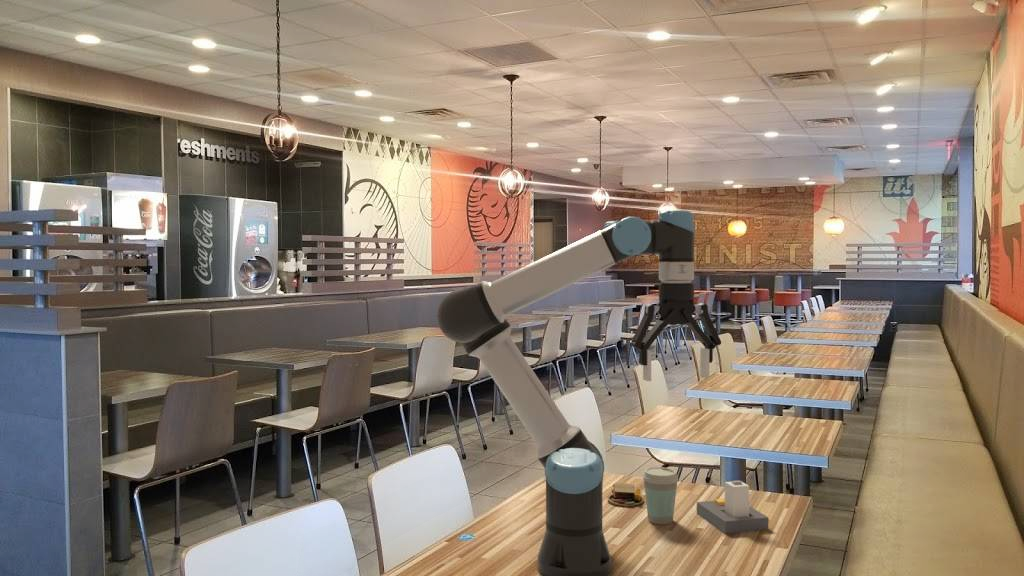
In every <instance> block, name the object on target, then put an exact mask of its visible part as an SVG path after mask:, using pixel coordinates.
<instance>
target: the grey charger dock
mask: <svg viewBox="0 0 1024 576" xmlns="http://www.w3.org/2000/svg"><path fill="white" fill-rule="evenodd" d="M696 514H697V515H698V516H700V517H701V518H702V519H704V520H705V521H707V522H708V523H709V524H711V525H712V526H713V527H715V528H716V529H718V530H719V531H720V532H721V533H723V534H724V535H729V534H730V535H731V534H738V533H746V532H754V531H755V532H756V531H764V530H769V517H768V516H767V515H766V514H763V513H762V512H760V511H758V510H757V509H755V508H754V507H752V506H750V505H749V517H738V518H731V517H730V516H728V515H727V514H725V498H718V499H714V500H707V501H696Z"/></svg>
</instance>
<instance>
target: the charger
mask: <svg viewBox="0 0 1024 576" xmlns="http://www.w3.org/2000/svg"><path fill="white" fill-rule="evenodd" d="M724 499H725V514H727V515H728V516H730V517H731V518H738V517H749V506H750V485H748V484H747V483H745V482H744V481H742V480H732V481H725V482H724Z"/></svg>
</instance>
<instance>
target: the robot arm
mask: <svg viewBox="0 0 1024 576" xmlns="http://www.w3.org/2000/svg"><path fill="white" fill-rule="evenodd" d="M694 220H695V218H694V214H693V213H692V212H691V211H689V210H679V209H677V210H663V211H660V212H659V214H658V218H657V219H655V220H643V219H642V218H640V217H638V216H635V215H634V216H633V215H632V216H630V215H629V216H625V217H623V218H621V219H619V220H611V221H606V222H605V223H604V225H603V229H602V230H598V231H597V232H596V231H595V233H592V234H590V235H588V236H585V237H584V238H581V239H580V240H578V241H576V242H575V241H574V242H573V243H571V244H569V245H567V246H565V247H563V248H561V249H557V250H556V251H555V252H553V253H550V254H548V255H546V256H544V257H542V258H540V259H537V260H535V261H533V262H530V263H528V264H527V265H525V266H523V267H521V268H518V269H517V270H515V271H512V272H511V273H509V274H507V275H504V276H502V277H500V278H498V279H495V280H493V281H492V282H490V281H486V280H482V281H480V282H479V283H476V284H473V285H471V286H467V287H463V288H461V289H456V290H453V291H451V292H449V293H447V294H446V296H444V297H443V298H442V300H441V301H440V303H439V305H438V307H437V312H436V319H437V320H436V321H437V325H438V327H439V329H440V331H441V332H442V334H443V335H444V336H445V337H446V338H448V339H449V340H451V341H454V342H456V343H460V345H461V346H462V348H463V349H464V350H465V352H466V353H467V355H468V356H470V357H475V358H478V359H479V361H480V362H481V363H482V365H483V366H484V368H485V369H486V371H487V373H488V374H489V376H490V377H491V378H492V380H493V381H494V383H495V384H496V386H497V387H498V389H499V390H500V392H501V393H502V394H503V397H504V398H505V399H506V400H507V402H508V404H509V405H510V407H511V409H512V410H513V411H514V413H515V414H516V415H517V418H519V420H520V422H521V423H522V424H523V426H524V428H525V429H526V431H527V432H528V434H529V435H530V436H531V438H532V440H533V441H534V443H535V444H536V445H537V453H536V458H537V459H538V460H539V463H540V464H541V465H542V466H543V469H544V476H545V532H544V535H543V538H542V541H541V544H540V548H539V551H538V554H537V569H538V571H539V573H540V574H542V575H543V576H608V575H609V574H610V573H611V571H612V557H611V554H610V550H609V548H608V547H609V546H608V544H607V541H606V539H605V538H606V537H605V535H604V531H603V530H604V529H603V489H604V488H603V486H604V485H603V484H604V473H605V462H604V460H603V455H602V453H601V452H600V450H599V449H598V448H597V446H596V445H595V444H594V443H592V442H591V441H590V440H588V438H587V437H586V435H585V434H584V432H583V431H582V429H581V428H580V426H576V425H571V424H569V422H568V421H567V419H566V418H565V416H564V415H563V412H561V410H560V409H559V407H558V406H557V404H556V402H555V401H554V400H553V398H552V397H551V395H550V394H549V392H548V391H547V389H546V387H545V386H544V385H543V383H542V382H541V380H540V379H539V377H538V376H537V374H536V372H534V370H533V369H532V366H530V364H529V363H528V361H527V360H526V358H525V356H524V355H523V353H522V352H521V351H520V349H519V347H518V346H517V344H516V343H515V341H513V339H512V337H511V332H512V325H511V324H510V323H509V321H508V320H507V318H506V317H507V316H508V315H510V314H513V313H515V312H517V311H519V310H521V309H524V308H525V307H528V306H531V304H534V303H536V302H539V301H541V300H542V299H545V298H546V297H549V296H550V295H551V296H552V295H553V294H554V293H555V294H556V293H557V292H559V291H562V290H563V289H566V288H569V286H572V285H574V284H577V283H578V282H580V281H582V280H584V279H587V278H589V277H591V276H593V275H595V274H598V273H600V272H602V271H603V270H604V271H605V270H607V269H608V268H610V267H612V266H614V265H616V264H618V263H622V262H623V261H625V260H629V259H630V258H632V257H634V256H644V255H646V256H647V255H650V256H651V255H652V256H653V255H654V256H655V255H656V256H657V255H658V280H659V281H661V282H660V283H659V284H658V305H654V304H649V303H648V304H645V306H644V311H643V316H642V319H641V320H640V322H639V324H638V326H637V329H636V331H635V334H634V336H633V337H632V340H631V342H630V346H631V348H635V349H638V352H639V353H638V354H639V355H638V358H639V360H638V364H639V365H640V366H642V380H643V381H646V382H652V350H650V348H651V345H652V344H654V342H655V341H656V340H657V339H658V337H659V335H660V334H661V333H662V332H663V330H664V329H665V328H666V327H667V326H676V325H681V326H683V325H686V326H688V328H689V329H690V330H691V332H692V333H693V334H694V335H695V337H696V338H697V339H698V340H699V342H700V343H701V344H702V345H703V347H700V348H699V349H700V357H699V358H700V362H699V363H700V365H699V366H700V368H699V369H700V371H699V373H700V376H699V377H700V378H703V379H706V380H707V379H708V380H709V379H710V364H712V363H713V362H714V361H713V359H714V354H713V351H714V349H715V348H716V346H720V345H721V344H722V340H721V338H720V336H719V333H718V332H717V330H716V328H715V325H714V323H713V321H712V318H711V317H710V315H709V307H708V304H707V303H701V302H699V303H698V304H695V303H694V302H695V301H694V300H695V299H694V298H695V284H694V283H693V282H692V281H694V280H695V233H696V232H695V221H694ZM657 312H658V314H659V317H658V319H657V320H656V321H655V324H654V325H653V326H652V328H651V329H650V330H649V327H650V326H651V324H652V321H653V319H654V316H655V315H656V314H657ZM695 312H696V314H698V317H699V319H700V321H701V323H702V325H703V328H704V330H705V332H706V333H705V332H704V330H702V328H701V327H700V325H699V324H698V322H697V320H695V318H694V316H693V315H694V313H695ZM648 331H649V332H648ZM647 332H648V333H647Z"/></svg>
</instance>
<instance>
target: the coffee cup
mask: <svg viewBox="0 0 1024 576" xmlns="http://www.w3.org/2000/svg"><path fill="white" fill-rule="evenodd" d="M642 481H643V485H644V494H645V495H644V496H645V503H646V511H647V520H648V522H650V523H652V524H653V525H654V524H655V525H670V524H672V523H673V520H674V513H675V504H676V496H677V495H676V494H677V488H678V482H679V481H680V479H679V476H678V473H677V471H676V470H675V469H673V468H668V467H663V466H656V467H655V466H652V467H648V468H645V470H644V473H643V474H642Z"/></svg>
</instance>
